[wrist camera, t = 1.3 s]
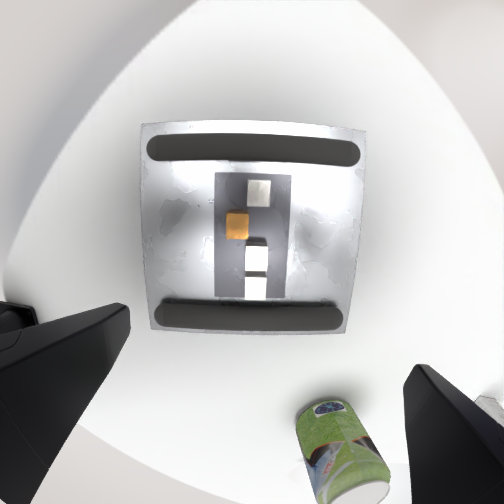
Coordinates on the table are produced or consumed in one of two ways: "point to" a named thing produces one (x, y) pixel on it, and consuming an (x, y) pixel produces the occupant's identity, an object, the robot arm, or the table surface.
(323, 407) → the beverage can
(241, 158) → the dark grey rounded bar
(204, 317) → the dark grey rounded rod
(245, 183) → the breaker panel
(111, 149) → the table surface
